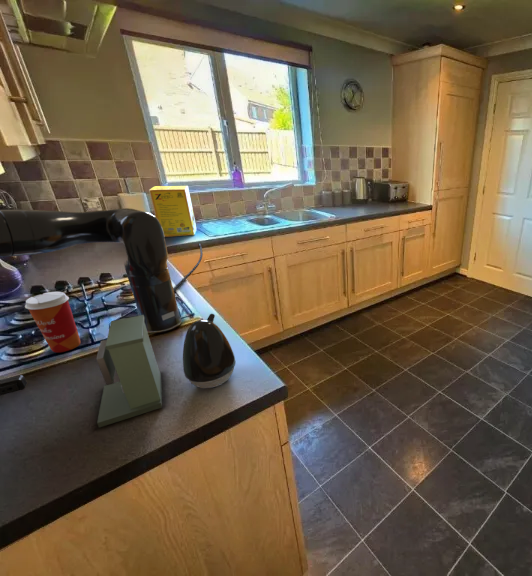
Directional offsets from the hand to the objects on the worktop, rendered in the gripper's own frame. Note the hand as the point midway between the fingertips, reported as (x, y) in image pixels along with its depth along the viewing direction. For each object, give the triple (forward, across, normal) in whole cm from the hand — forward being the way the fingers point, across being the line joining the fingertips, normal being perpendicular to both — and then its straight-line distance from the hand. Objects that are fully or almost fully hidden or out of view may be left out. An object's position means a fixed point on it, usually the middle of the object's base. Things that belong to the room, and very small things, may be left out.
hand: (24, 381), depth 57 cm
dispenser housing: (+13, 0, +10) cm, 17 cm away
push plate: (+11, 0, +3) cm, 12 cm away
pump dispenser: (+28, -2, +10) cm, 30 cm away
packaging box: (+30, +147, +10) cm, 150 cm away
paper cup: (-2, +31, +10) cm, 33 cm away
